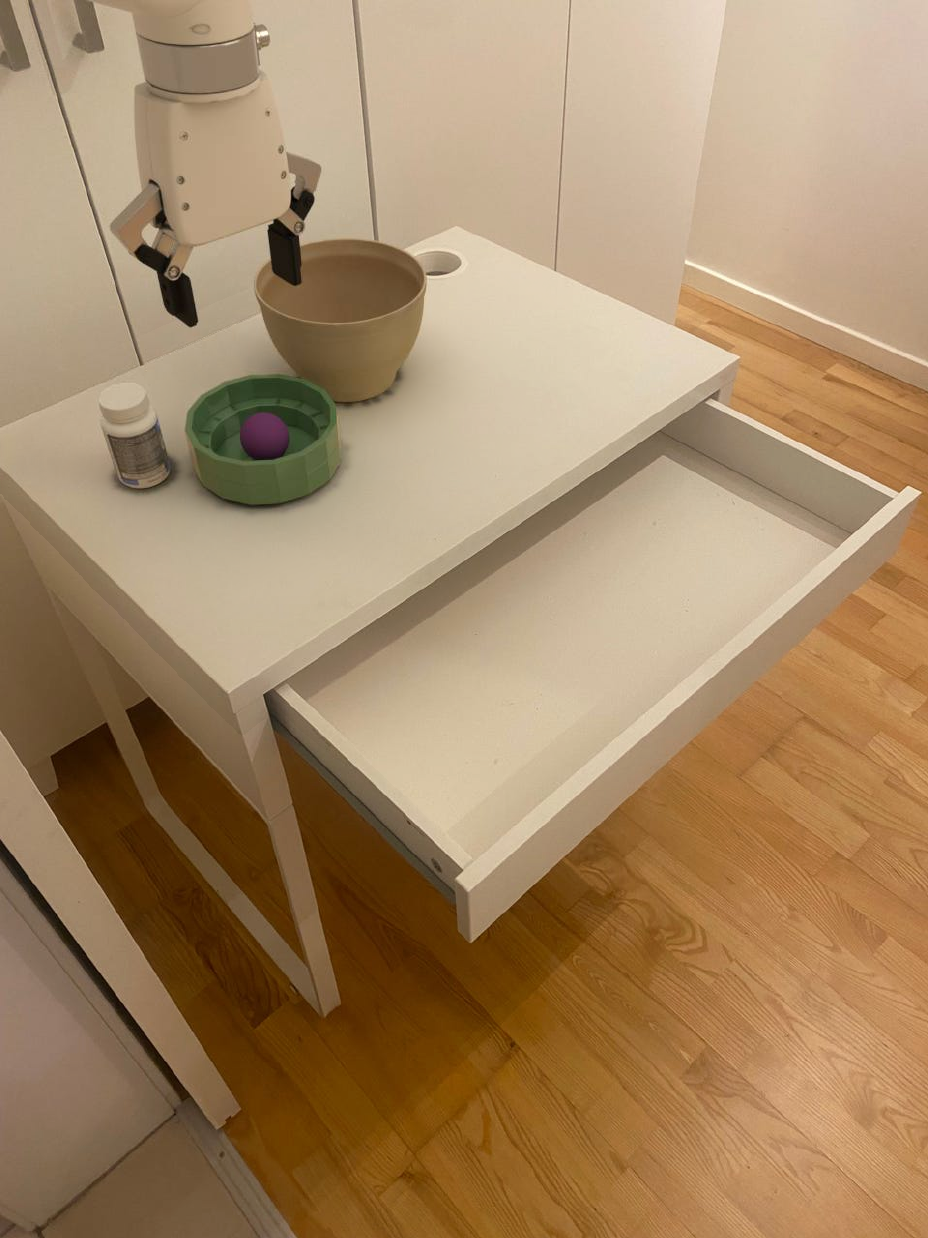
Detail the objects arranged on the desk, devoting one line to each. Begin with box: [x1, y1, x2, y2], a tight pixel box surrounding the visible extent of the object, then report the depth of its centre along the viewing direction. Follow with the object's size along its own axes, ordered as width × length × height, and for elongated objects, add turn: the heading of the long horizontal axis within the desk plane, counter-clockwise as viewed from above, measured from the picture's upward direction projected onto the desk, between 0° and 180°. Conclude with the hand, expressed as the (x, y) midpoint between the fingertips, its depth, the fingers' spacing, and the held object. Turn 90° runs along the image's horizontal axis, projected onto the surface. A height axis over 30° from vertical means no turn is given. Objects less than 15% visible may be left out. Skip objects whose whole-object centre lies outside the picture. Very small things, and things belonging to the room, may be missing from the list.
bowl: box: [184, 373, 342, 506], centre depth 87 cm, size 13×13×5 cm
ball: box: [240, 412, 290, 461], centre depth 86 cm, size 4×4×4 cm
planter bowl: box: [253, 237, 428, 403], centre depth 94 cm, size 16×16×11 cm
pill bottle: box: [97, 381, 171, 489], centre depth 84 cm, size 5×5×8 cm
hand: (237, 298), depth 76 cm, fingers open, 9 cm apart
